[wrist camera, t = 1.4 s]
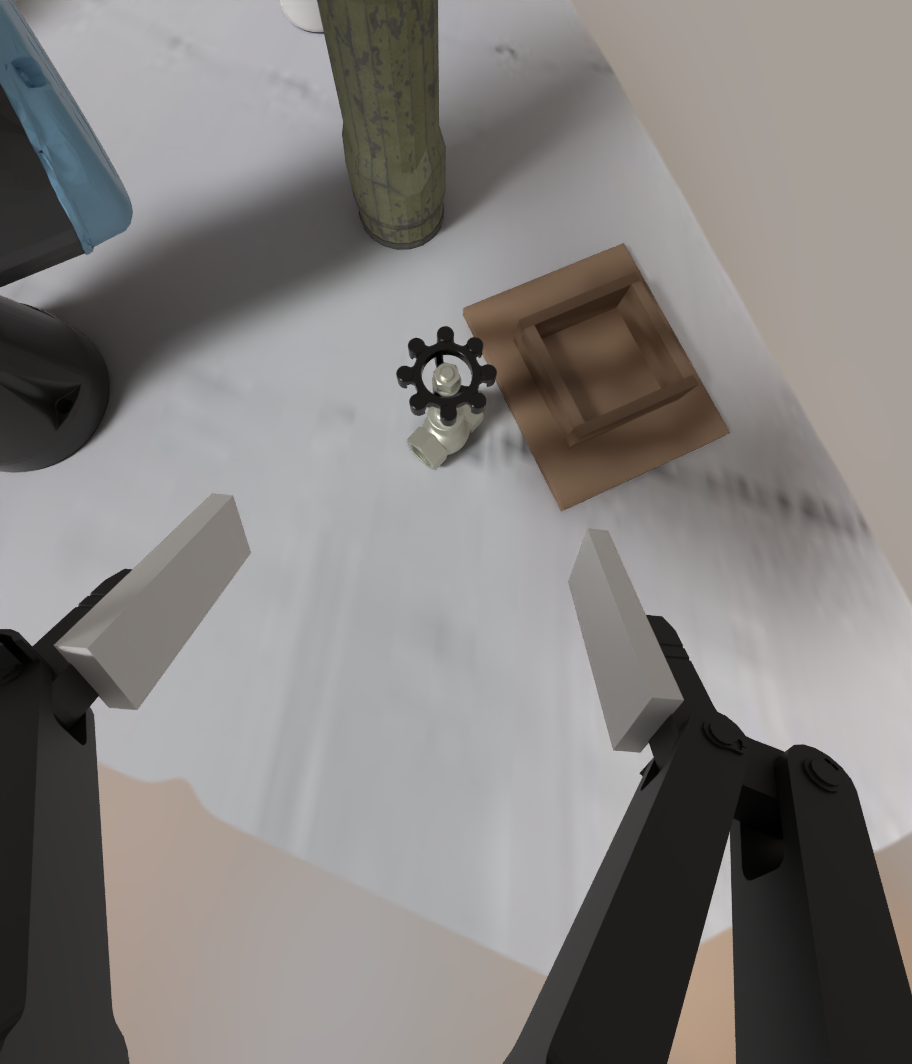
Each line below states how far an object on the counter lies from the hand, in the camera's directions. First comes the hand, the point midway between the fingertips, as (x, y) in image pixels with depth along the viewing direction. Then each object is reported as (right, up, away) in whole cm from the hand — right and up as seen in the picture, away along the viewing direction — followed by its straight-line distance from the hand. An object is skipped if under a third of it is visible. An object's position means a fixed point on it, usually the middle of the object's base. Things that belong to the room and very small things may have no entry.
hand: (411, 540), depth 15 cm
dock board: (+15, +16, +24) cm, 32 cm away
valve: (+1, +9, +22) cm, 24 cm away
